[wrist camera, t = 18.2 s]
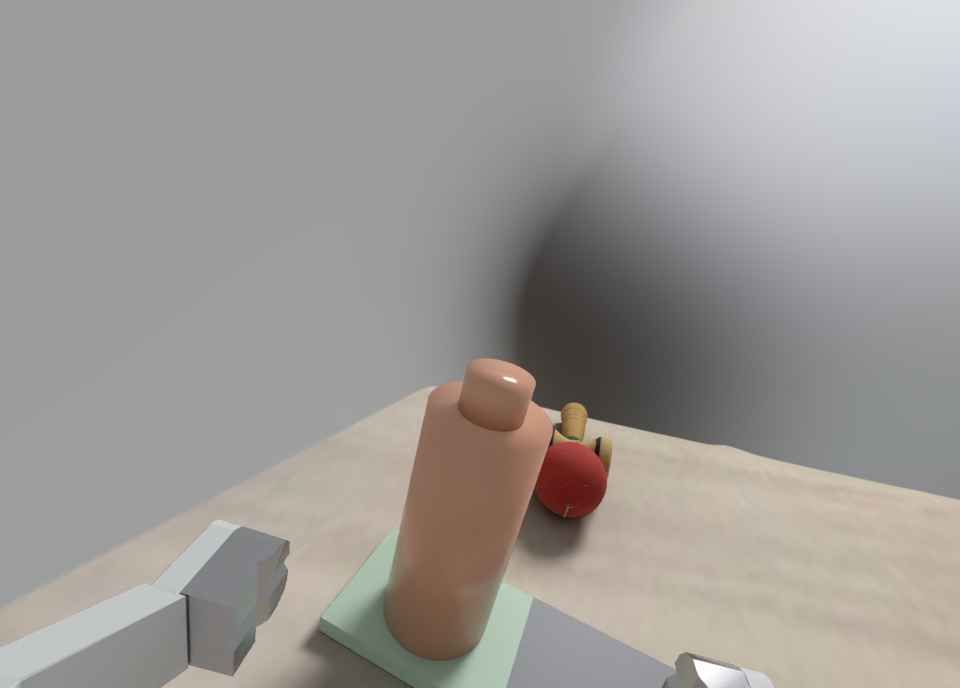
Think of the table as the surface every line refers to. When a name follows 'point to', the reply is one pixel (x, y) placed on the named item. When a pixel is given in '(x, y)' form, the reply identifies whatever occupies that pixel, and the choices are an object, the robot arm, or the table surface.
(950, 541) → the table surface
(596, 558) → the table surface
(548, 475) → the kendama
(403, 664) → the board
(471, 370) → the bottle
